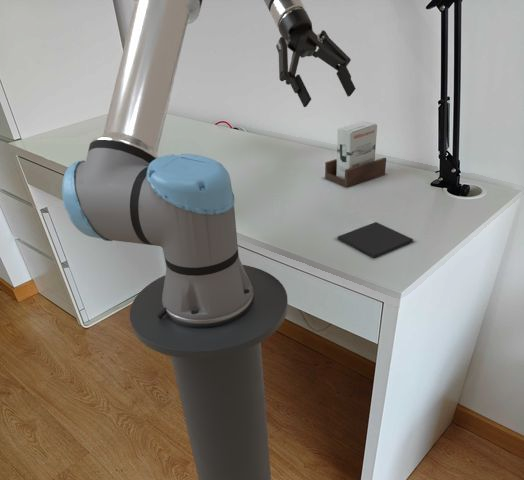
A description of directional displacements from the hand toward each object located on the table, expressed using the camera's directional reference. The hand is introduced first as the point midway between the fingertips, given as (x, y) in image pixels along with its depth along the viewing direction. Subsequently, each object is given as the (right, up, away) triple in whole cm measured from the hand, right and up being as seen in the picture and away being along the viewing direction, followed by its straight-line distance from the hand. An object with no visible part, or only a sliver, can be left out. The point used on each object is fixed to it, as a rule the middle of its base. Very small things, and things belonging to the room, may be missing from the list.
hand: (330, 98), depth 119 cm
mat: (+5, -39, -23) cm, 46 cm away
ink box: (+6, -18, +3) cm, 19 cm away
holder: (+6, -18, +3) cm, 19 cm away
